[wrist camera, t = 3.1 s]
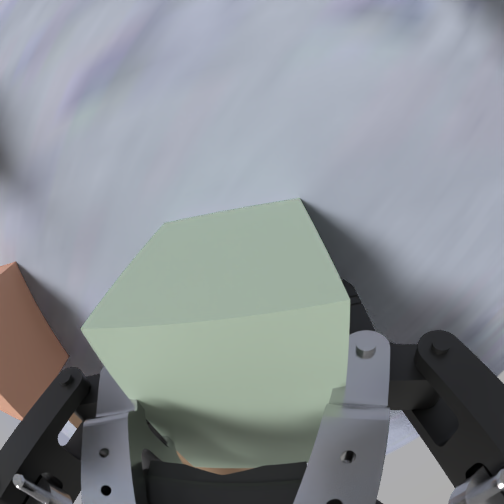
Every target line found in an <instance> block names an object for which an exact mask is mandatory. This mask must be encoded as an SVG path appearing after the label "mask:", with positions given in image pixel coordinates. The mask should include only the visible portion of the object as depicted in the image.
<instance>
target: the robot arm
mask: <svg viewBox="0 0 504 504" xmlns="http://www.w3.org/2000/svg"><path fill="white" fill-rule="evenodd" d="M341 281H342V283H343V285H344V287H345V289H346V292H347V294H348V296H349V298H350V329H349V349H348V364H347V377H346V386H342V387H338V388H333V389H332V393H331V397H330V401H329V403H327V404H326V407H325V410H324V413H323V416H322V420H321V423H320V427H319V430H318V434H317V437H316V440H315V444H314V447H313V450H312V453H311V456H310V459H309V462H308V465H307V462H306V461H304V462H297V463H287V464H276V465H264V466H260V467H257V468H253V469H249V470H245V471H240V472H236V473H231V474H226V475H220V474H215V473H212V472H208V471H205V470H201V469H198V468H195V467H192V466H189V465H186V464H183V463H182V461H181V460H180V458H179V456H178V454H177V452H176V448H175V443H174V442H173V441H172V440H171V438H170V437H169V436H162V435H161V434H160V433H159V432H158V431H157V430H156V429H155V428H154V427H153V426H152V425H151V424H150V423H149V421H148V420H147V419H146V417H145V409H144V408H143V407H142V405H141V404H140V403H139V402H138V400H136V399H129V398H128V397H127V395H126V394H125V393H124V392H123V390H122V389H121V388H120V387H119V385H118V384H117V383H116V381H115V380H114V379H113V377H112V376H111V374H110V373H109V372H108V370H107V369H106V368H105V366H103V368H102V370H101V373H100V374H97V375H93V376H88V377H85V376H84V374H83V373H82V372H81V370H80V369H78V368H76V367H70V368H67V369H65V370H63V371H62V372H61V373H59V374H58V375H57V377H56V378H55V379H54V380H53V381H52V383H51V384H50V385H49V386H48V388H47V389H46V390H45V391H44V393H43V394H42V395H41V396H40V398H39V399H38V400H37V401H36V403H35V404H34V405H33V406H32V408H31V409H30V410H29V412H28V413H27V414H26V416H25V417H24V418H23V420H22V421H21V422H20V424H19V425H18V426H17V428H16V429H15V430H14V432H13V433H12V435H11V436H10V437H9V439H8V440H7V442H6V443H5V444H4V446H3V447H2V449H1V450H0V504H73V503H74V501H75V500H76V498H77V496H78V494H79V493H80V491H81V495H82V504H383V503H381V502H380V501H378V500H377V494H378V490H379V485H380V481H381V476H382V470H383V465H384V459H385V453H386V447H387V439H388V432H389V423H390V410H402V411H403V412H404V414H405V415H406V417H407V418H408V419H409V421H410V422H411V424H412V425H413V426H414V428H415V429H416V431H417V432H418V434H419V435H420V437H421V438H422V439H423V441H424V442H425V444H426V445H427V447H428V448H429V450H430V451H431V452H432V454H433V455H434V457H435V458H436V460H437V461H438V463H439V464H440V466H441V467H442V469H443V470H444V472H445V473H446V475H447V476H448V478H449V479H450V481H451V482H452V484H453V485H454V487H455V490H454V491H453V493H452V494H451V497H450V499H449V504H504V384H503V383H502V382H501V381H500V380H499V379H498V378H497V377H496V376H495V375H494V374H493V373H492V371H491V370H490V369H489V368H488V367H487V366H486V365H485V364H484V363H483V362H482V361H480V360H479V359H478V358H477V357H476V356H475V355H474V354H473V353H472V352H471V351H470V350H469V349H468V348H467V347H466V346H465V345H464V344H463V343H462V342H461V341H460V340H459V339H457V338H456V337H455V336H454V335H453V334H451V333H449V332H446V331H441V330H435V331H430V332H428V333H426V334H424V335H423V336H422V337H421V338H420V340H419V342H418V344H411V345H401V344H393V343H390V342H389V341H388V340H387V338H386V337H385V336H383V335H382V334H380V333H378V332H375V330H374V328H373V325H372V323H371V321H370V319H369V317H368V315H367V313H366V311H365V309H364V307H363V305H362V304H361V301H360V299H359V297H358V295H357V293H356V291H355V289H354V287H353V286H352V285H351V284H350V283H348V282H347V281H345V280H344V279H343V280H341ZM73 413H75V414H76V415H77V416H78V417H79V418H80V419H81V420H82V423H81V424H80V425H79V427H78V428H77V430H76V431H75V433H74V434H73V436H72V437H71V439H70V440H69V442H68V443H67V444H66V445H64V446H60V445H59V443H58V439H57V438H58V434H59V433H60V431H61V430H62V428H63V427H64V426H65V424H66V423H67V421H68V420H69V418H70V417H71V416H72V414H73Z"/></svg>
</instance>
